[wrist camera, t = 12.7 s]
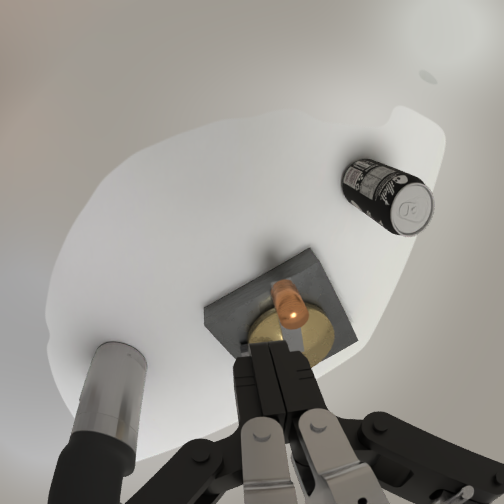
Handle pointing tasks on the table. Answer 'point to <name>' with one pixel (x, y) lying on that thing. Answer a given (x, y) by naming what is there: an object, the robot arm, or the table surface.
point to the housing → (260, 301)
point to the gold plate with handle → (293, 324)
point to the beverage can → (389, 197)
